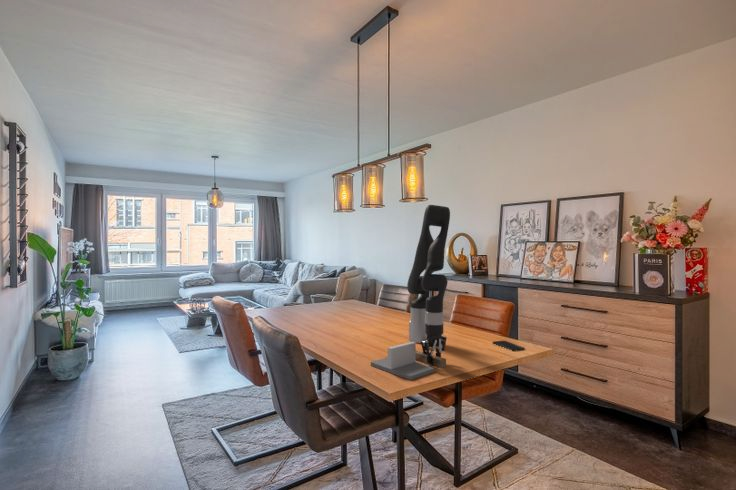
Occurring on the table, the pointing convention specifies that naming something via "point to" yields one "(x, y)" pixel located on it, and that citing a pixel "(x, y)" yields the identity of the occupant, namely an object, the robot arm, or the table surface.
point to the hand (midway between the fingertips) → (434, 363)
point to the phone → (508, 345)
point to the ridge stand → (403, 362)
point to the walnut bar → (436, 360)
